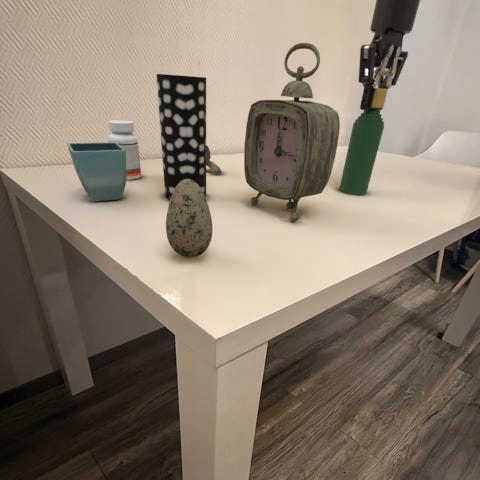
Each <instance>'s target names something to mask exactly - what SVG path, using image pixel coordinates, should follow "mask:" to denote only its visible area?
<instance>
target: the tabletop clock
mask: <svg viewBox="0 0 480 480" xmlns="http://www.w3.org/2000/svg"><path fill="white" fill-rule="evenodd" d="M304 49H305V50H310V51H311V52H313V54H314V56H315V57H316V63H315V66H314V68H312V69H311V70H309V71H306V72H304V70H305V69H304V67H303V66H301V65H300V66H298V67H297V68H296V72H295V71H293V70H291V69H290V68H289V67H288V61H289V58H290V57H291V55H292V54H293V53H294V52H295V51H297V50H298V51H299V50H304ZM320 55H321V54H320V52H319V50H318V47H316V46H315V44H313V43H308V42H300V43H297V44H294V45H293V46H291V48H290V49H289V50H288V51H287V53H286V55H285V56H284V57H285V58H284V62H283V63H284V64H283V65H284V70H285V71H286V73H287V75H289V76H290V77H292V78H293V79H295V80H291V81H289V82H288V83H286V85H284V88H283V89H282V92H281V93H280V97H288V98H293V99H291V100H289V99H261V100H260V99H259V100H256V101H255V102H253V103H252V104H251V105H250V109H249V111H248V115H247V119H246V120H247V121H246V127H245V138H244V153H243V154H244V156H243V157H244V158H243V164H244V165H243V166H244V177H245V183H246V184H247V185H248V186H249V187H250V188H252V190H255V191H256V192H258V193H257V195H256V196H252V197H251V198H250V199H249V201H250V204H251V206H254V207H255V206H257V205H258V204H259V198H261V196H262V195H264V196H266V197H270V198H274V199H277V200H282V201H288V202H286V205H285V207H286V209H287V210H289V211H292V210H293V212H292V213H291V214H290V215H289V219H290V221H291V222H293V223H295V222H297V221H299V219H300V215H299V212H297V211H298V206H299V201H300V200H301V198H306V197H311V196H317V195H320V194H322V193H323V191H324V190H325V188H326V186H327V185H328V183H329V180H330V178H331V175H332V171H333V167H334V163H335V159H336V155H337V149H338V144H339V138H340V129H341V128H340V127H341V126H340V125H341V123H340V122H341V121H340V115H339V112H338V111H337V110H336V109H334V108H333V107H331V106H329V105H327V104H323V103H320V102H314V101H310V100H300V99H314V94H313V89H312V87H311V85H310V84H309V83H308V82H307V81H304V79H307V78H309V77H312V76H314V74H315V73H316V72H317V70H318V69H319V67H320V63H321V56H320Z"/></svg>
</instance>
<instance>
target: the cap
mask: <svg viewBox="0 0 480 480" xmlns="http://www.w3.org/2000/svg"><path fill="white" fill-rule="evenodd" d="M374 89H376V90H375V94H374V99H373V103H372V108H383V109H384V106H385V103H386V99H387V95H388V91H387V90H389V89H383V88H378V87H375V88H374Z"/></svg>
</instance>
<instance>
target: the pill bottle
mask: <svg viewBox="0 0 480 480" xmlns="http://www.w3.org/2000/svg"><path fill="white" fill-rule="evenodd" d="M108 128H109V131H110V132H111V133H110V134H109V136H108V143H118V144H119V145H120V146H121V147H123V148H124V149H125V150H126V181H132V180H138V179H140V178H141V177H142V171H141V169H142V168H141V160H140V151H139V150H140V149H139V142H138V141H139V139H138V137H137V136H136V135H135V134H133V132H135V124H134V122H133V121H131V120H121V119H119V120H118V119H117V120H116V119H112V120H111V119H110V120H108Z"/></svg>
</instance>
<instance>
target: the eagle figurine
mask: <svg viewBox="0 0 480 480" xmlns="http://www.w3.org/2000/svg"><path fill="white" fill-rule="evenodd" d="M206 167H208V168H209V169H210V172H211V173H212V174H213V175H217V176H221V175H222V173H223V171H222V169H221V168H220V167H219V166H218V165H217V164H216V163H215V162H214V161H213V160H211V150H210V148H209V146H208V145H207V144H206Z"/></svg>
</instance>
